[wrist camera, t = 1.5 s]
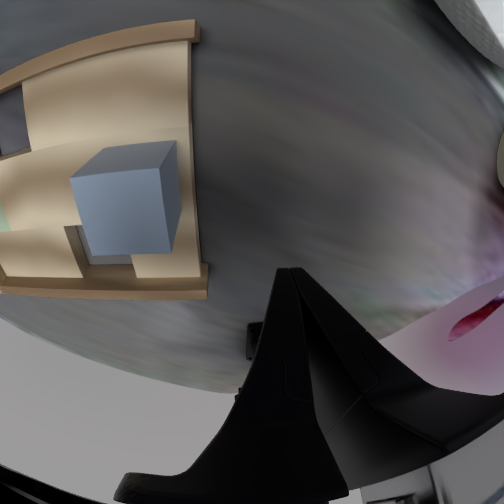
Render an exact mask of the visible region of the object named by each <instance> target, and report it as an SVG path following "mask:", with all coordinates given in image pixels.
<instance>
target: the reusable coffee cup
mask: <svg viewBox="0 0 504 504" xmlns="http://www.w3.org/2000/svg"><path fill="white" fill-rule="evenodd" d="M497 174H498V178H499V181H500V183H501V185H502V186H503V187H504V131H503V133H502V136H501V139H500V143H499V147H498V153H497Z"/></svg>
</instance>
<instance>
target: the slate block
mask: <svg viewBox="0 0 504 504" xmlns="http://www.w3.org/2000/svg"><path fill="white" fill-rule="evenodd" d="M70 182H71V187H72V190H73V194H74V198H75V202H76V205H77V209H78V213H79V216H80V219H81V223H82V226H83V229H84V232H85V235H86V238H87V241H88V244H89V247H90V250H91V253H92V256H95V255H135V254H171V252H172V248H173V244H174V239H175V235H176V231H177V227H178V223H179V219H180V215H181V211H182V205H181V195H180V185H179V173H178V161H177V147H176V140H170V141H158V142H147V143H138V144H129V145H121V146H114V147H107V148H103V149H102V150H101V151H100V152H98V153H97V154H96V155H95V156H94V157H93V158H91V159H90V160H89V161H88V162H87V163H86V164H84V165H83V166H82V167H81V168H80V169H79V170H78V171H77V172H76V173H75V174H73V175H72V176H71V177H70Z"/></svg>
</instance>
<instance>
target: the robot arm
mask: <svg viewBox="0 0 504 504" xmlns="http://www.w3.org/2000/svg"><path fill="white" fill-rule="evenodd" d="M246 359H247V360H249V361H252V365H251V368H250V370H249V372H248V375H247V377H246V379H245V382H244V384H243V386H242V387H241V388H239V394H237V395H235V403H234V405H233V407H232V409H231V411H230V413H229V415H228V417H227V419H226V420H225V422H224V424H223V426H222V427H221V429H220V430H219V432H218V433H217V435H216V436H215V437H214V438H213V439H212V441H211V442H210V444H209V445H208V446H207V447H206V448H205V450H204V451H203V452H202V453H201V455H200V456H199V457H198V458H197V460H196V461H195V462H194V463H193V465H192V466H191V467H190V468H189V469H188V470H187V471H185V472H183V473H181V474H178V475H174V476H162V475H154V474H145V473H131V472H130V473H126V474H125V475H124V477H123V479H122V481H121V483H120V484H119V486H118V488H117V490H116V492H115V494H114V498H113V499H114V500H115V501H118V502H121V503H125V504H329V501H331V500H335V499H339V498H343V497H346V496H348V495H349V490H353V489H357V488H360V490H361V495H362V500H363V504H504V393H502V394H500V395H494V396H488V395H479V394H472V393H466V392H460V391H454V390H448V389H443V388H438V387H435V386H433V385H431V384H429V383H427V382H426V381H424V380H423V379H422V378H421V377H419V376H418V375H417V374H416V373H414V372H413V371H412V370H411V369H410V368H408V367H407V366H406V365H405V364H403V363H402V362H401V361H400V360H398V359H397V358H396V357H395V356H394V355H393V354H391V353H390V352H389V351H388V350H387V349H386V348H384V347H383V346H382V345H381V344H380V343H379V342H378V341H377V340H376V339H375V338H374V337H373V336H372V335H371V334H370V333H369V332H368V331H367V332H366V329H365V328H364V327H363V326H362V325H361V324H360V323H359V322H358V321H357V320H356V319H355V318H354V317H353V316H352V315H351V314H350V313H349V312H347V311H346V310H345V309H344V308H343V307H342V306H341V305H340V304H339V303H338V302H337V301H336V300H335V299H334V298H333V297H332V296H331V295H330V294H329V293H328V292H327V291H326V290H325V289H324V288H323V287H322V286H321V285H320V284H319V283H318V282H317V281H315V280H314V279H313V278H312V277H311V276H310V275H309V274H308V273H307V272H306V271H305V270H304V269H303V268H301V267H295V268H290V269H289V268H278V269H277V270H276V274H275V278H274V282H273V286H272V290H271V294H270V299H269V302H268V306H267V310H266V314H265V318H264V322H263V324H250V325H248V326H247V345H246ZM0 504H106V503H102V502H99V501H95V500H92V499H88V498H85V497H82V496H79V495H76V494H72V493H70V492H67V491H64V490H62V489H59V488H56V487H54V486H51V485H49V484H46V483H44V482H41V481H39V480H36V479H34V478H31V477H29V476H27V475H24V474H22V473H20V472H17V471H15V470H13V469H10V468H8V467H6V466H4V465H1V464H0Z"/></svg>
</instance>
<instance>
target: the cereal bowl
mask: <svg viewBox="0 0 504 504" xmlns="http://www.w3.org/2000/svg"><path fill="white" fill-rule="evenodd" d="M434 1H435V2H436V3H437V4H438V6H439V8H440V9H441V10H442V12H443V13H444V14H445V15H446V16H447V18H448V19H449V20H450V22H451V23H452V24H453V25H454V26H455V28H456V29H457V30H458V31H459V32H460V33H461V34H462V36H463V37H465V38H466V39H467V40H468V42H469V43H470V44H471V45H473V46H474V47H475V48H476V49H477V50H478V51H479V52H480V53H482V54H483V55H484V56H485V57H486V58H488V59H489V60H490V61H491V62H493V63H495V64H496V65H498V66H499V67H500V68H503V69H504V0H434Z"/></svg>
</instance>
